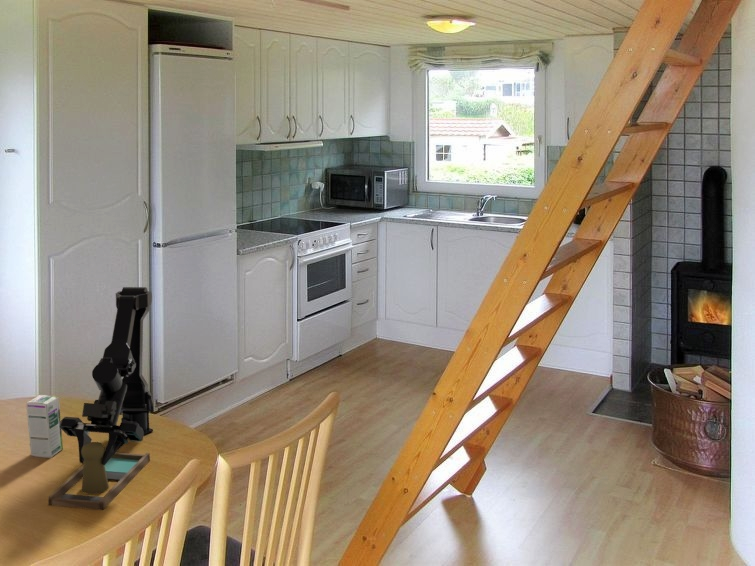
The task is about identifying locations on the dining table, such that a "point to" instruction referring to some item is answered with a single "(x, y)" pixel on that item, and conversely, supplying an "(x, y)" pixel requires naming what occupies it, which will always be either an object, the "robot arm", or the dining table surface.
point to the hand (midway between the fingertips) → (92, 463)
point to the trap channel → (93, 501)
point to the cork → (94, 469)
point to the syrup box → (44, 426)
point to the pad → (119, 465)
